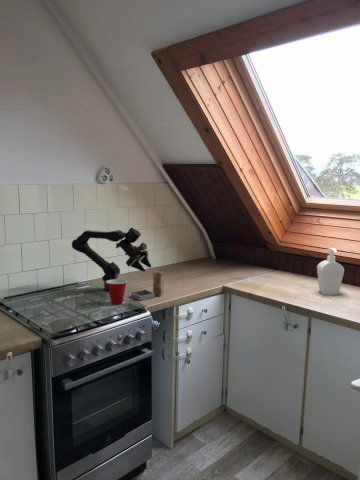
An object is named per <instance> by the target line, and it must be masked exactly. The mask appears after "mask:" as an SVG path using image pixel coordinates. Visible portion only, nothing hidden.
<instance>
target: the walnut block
mask: <svg viewBox="0 0 360 480" xmlns="http://www.w3.org/2000/svg"><path fill="white" fill-rule="evenodd" d="M152 288H153V289H152V293H155V297H160V298H161V297H163V296H164V295H165V292H164V291H165V271H161V270H160V271H159V270H155V271H154V272H152Z"/></svg>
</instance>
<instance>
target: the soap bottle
mask: <svg viewBox="0 0 360 480" xmlns="http://www.w3.org/2000/svg"><path fill="white" fill-rule="evenodd" d="M326 250H327V251H329V254H327V257H326V259H325V260H322V261H321V262H319V263H318V264H317V265H316V272H317V280H318V281H317V282H318V290H319V292H320V294H322V295H324V296H328V295H329V296H331V295H332V296H333V295H335V296H336V295H337V296H338V295H339V294H340V289H341V286H342V282H343V278H344V273H345V267H344V266H343V265H342V264H340V263H339V262H338V261H337V262H336V256H335V255H334V254H336V253H338V251H337V249H336V248H335V247H328V248H326Z"/></svg>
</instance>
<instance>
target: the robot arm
mask: <svg viewBox="0 0 360 480" xmlns="http://www.w3.org/2000/svg"><path fill="white" fill-rule="evenodd" d="M141 236H142V234H141V233H140V231H139V230H138V229H135V228H134V227H130V228H129V229H128V231H127V232H123V231H122V230H121V229H120V230H119V229H118V230H111V231H101V230H100V231H99V230H89V229H88V230H84V231H83V232H82V233H81V234H80V235H79V236H78V237H77V238H76V239H74V240H72V242H71V248H72V249H73V250H75V251H77V252H79V253H81V254H84V255H85V256H86V257H87V258H88V259H90V260H91V261H93V263H94V264H96V265H97V266H98V267H100V268H101V270H102V272H103V273H104V275H103V276H102V277H101V278H102V281H103V288H102V290H104V291H106V292H108V293H109V289H108V285H107V283H106V281H108V280H114V279H118V276H120V273H121V269H120V268H119V265H117V264H116V263H115V262H114V261H112V262H108V261H107V260H105V259H104V258H103V257H102V256H101V255H99V253H97V252H96V251H95V250H94V249H92V248H91V247H90V245H89V243H88V241H89V240H90V239H99V240H100V239H103V240H108V241H109V242H114V243H116V244H115V248H116V249H119V248H120V249H121V250H123V252H125V253H124V255H125V256H127V257H129V258H128V259H127V260H126V261H125V262H126V263H125V264H126V266H127V267H130V268H134V269H136V270H139V271H142V272H145V271H146V269H145V267H143V265H144V266H146V267H148V268H149V269H151V268H152V264H151V262H150V261H149V251H147V249H148V247H147V246H148V244H146V243H145V242H142V243H140V244H139V246H136V245H133V244H134V243H136V241H137V240H139V238H140V237H141ZM142 264H143V265H142Z"/></svg>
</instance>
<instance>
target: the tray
mask: <svg viewBox="0 0 360 480" xmlns="http://www.w3.org/2000/svg"><path fill="white" fill-rule="evenodd" d="M130 297H131V298H133V299H135V300H137V301H138V302H142V301H147V300H151V299H155V297H156V296H155V293H153V291H150V290H148V289H141V290H136V291H132V292H131V293H130Z"/></svg>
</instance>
